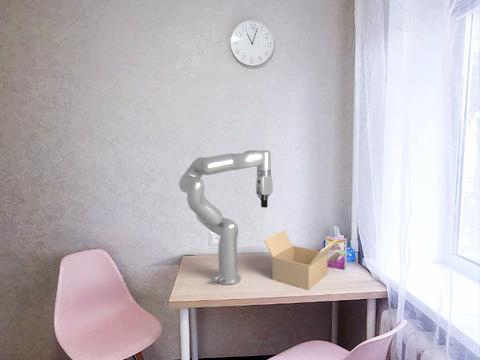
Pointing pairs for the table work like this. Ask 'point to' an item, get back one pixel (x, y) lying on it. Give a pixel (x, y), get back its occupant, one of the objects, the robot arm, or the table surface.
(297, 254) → the carton
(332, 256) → the candy bar box
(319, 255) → the near flap
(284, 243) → the far flap
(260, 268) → the table surface
